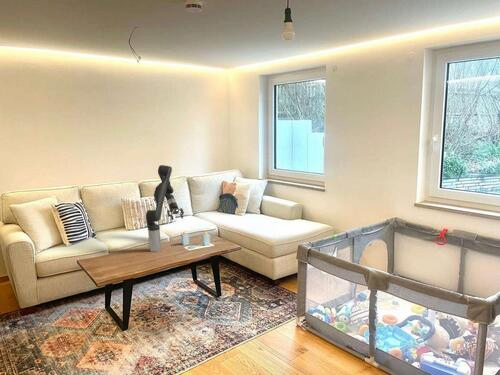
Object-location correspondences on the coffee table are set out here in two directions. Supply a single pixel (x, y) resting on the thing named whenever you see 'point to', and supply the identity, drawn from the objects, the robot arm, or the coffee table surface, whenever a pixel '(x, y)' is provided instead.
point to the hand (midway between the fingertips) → (177, 218)
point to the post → (206, 239)
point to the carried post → (185, 238)
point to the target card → (197, 246)
